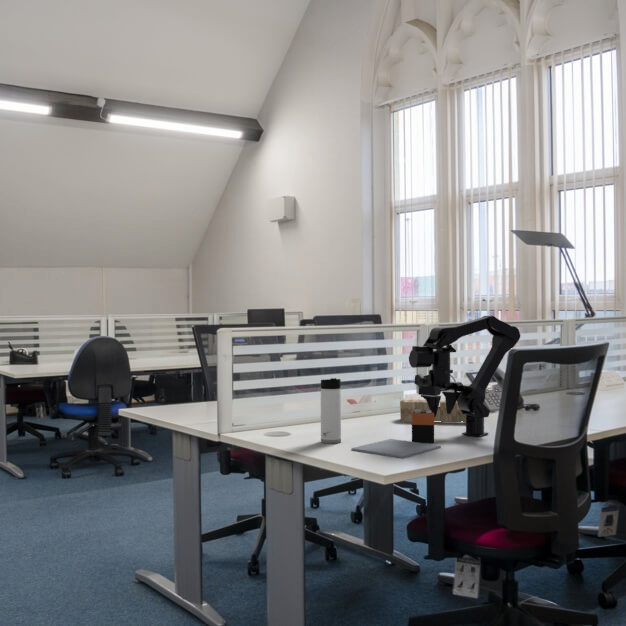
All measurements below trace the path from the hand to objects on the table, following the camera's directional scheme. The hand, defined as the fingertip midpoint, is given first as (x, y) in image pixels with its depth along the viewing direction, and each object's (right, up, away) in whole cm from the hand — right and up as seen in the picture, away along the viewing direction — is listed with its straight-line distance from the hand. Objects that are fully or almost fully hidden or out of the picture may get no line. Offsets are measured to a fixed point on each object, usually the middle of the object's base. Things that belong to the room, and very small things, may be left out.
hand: (441, 415), depth 234 cm
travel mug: (-36, -7, -8) cm, 37 cm away
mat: (-17, -7, -19) cm, 26 cm away
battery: (-7, -7, -8) cm, 13 cm away
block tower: (+6, -7, +34) cm, 35 cm away
